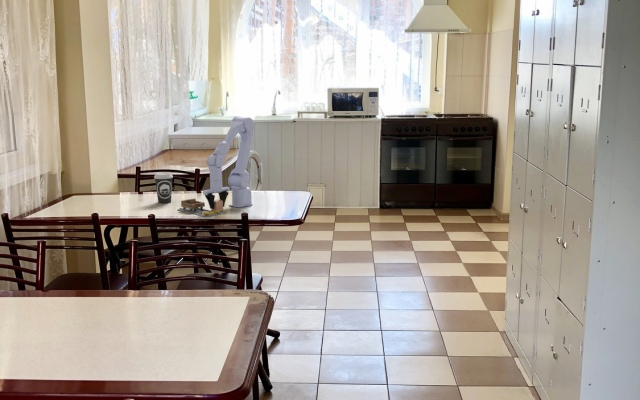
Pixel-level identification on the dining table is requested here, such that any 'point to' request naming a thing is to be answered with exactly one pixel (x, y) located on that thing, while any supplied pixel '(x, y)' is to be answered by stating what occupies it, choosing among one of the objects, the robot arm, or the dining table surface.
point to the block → (218, 205)
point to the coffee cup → (163, 186)
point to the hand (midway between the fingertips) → (217, 207)
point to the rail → (201, 212)
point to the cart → (192, 204)
